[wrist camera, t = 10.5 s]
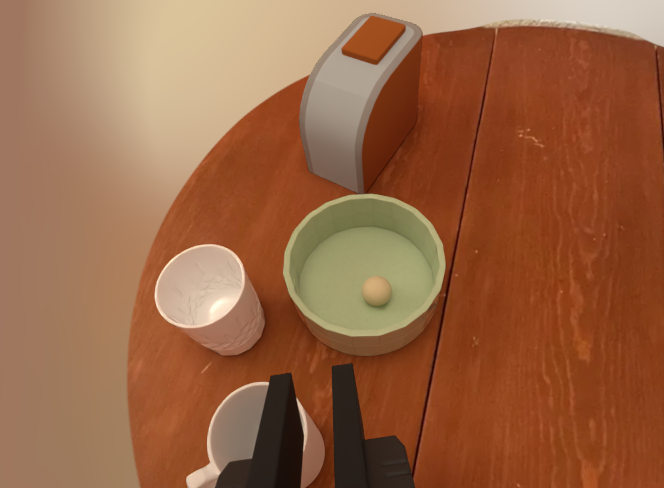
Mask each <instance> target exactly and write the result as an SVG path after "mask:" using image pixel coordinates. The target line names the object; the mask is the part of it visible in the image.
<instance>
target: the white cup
mask: <svg viewBox="0 0 664 488" xmlns="http://www.w3.org/2000/svg"><path fill="white" fill-rule="evenodd" d="M155 302H156V306H157V308H158V310H159V312H160V314H161V315H162V316H163V317H164V318H165V319H166V320H167V321H168V322H170V323H171V324H172V325H174V326H175V327H177V328H178V329H179V330H181V331H182V332H184V333H185V334H186V335H188V336H189V337H191V338H192V339H193V340H195V341H197V342H198V343H200V344H201V345H203V346H205V347H207V348H208V349H210V350H212V351H214V352H216V353H218V354H220V355H222V356H228V355H239V354H241V353H243V352H245V351H247V350H249V349H251V348H252V347H253V345H254V344H255V343H256V342H257V341H258V340H259V339H260V337H261V335H262V332H263V329H264V326H265V318H264V312H263V308H262V306H261V304H260V302H259V299H258V296H257V294H256V292H255V289H254V287H253V285H252V283H251V281H250V279H249V277H248V275H247V273H246V271H245V269H244V266H243V264H242V262H241V261H240V259H239V258H238V256H237V255H236V254H235V253H233V252H232V251H231V250H229V249H227V248H225V247H223V246H219V245H213V244H205V245H199V246H195V247H192V248H189V249H187V250H185V251H183V252H181V253H179V254H178V255H177V256H175V257H174V258H173V259H172V260H171V261H170V262H169V263H168V264H167V265H166V266H165V267H164V269H163V270H162V272H161V274H160V276H159V278H158V280H157V283H156V287H155Z"/></svg>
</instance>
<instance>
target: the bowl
mask: <svg viewBox="0 0 664 488" xmlns="http://www.w3.org/2000/svg"><path fill="white" fill-rule="evenodd" d="M445 269H446V263H445V256H444V249H443V244H442V242H441V240H440V238H439V236H438V234H437V232H436V230H435V229H434V227H433V225H432V223H431V222H429V221H428V220H427V219H426V218H425V217H424V216H423V215H422V214H421V213H420V212H419V211H418V210H417V209H415V208H414V207H412V206H410V205H408V204H406V203H404V202H402V201H400V200H398V199H396V198H392V197H387V196H382V195H377V194H358V195H348V196H345V197H341V198H338V199H335V200H332V201H329V202H326V203H325V204H323V205H322V206H320V207H319V208H317V209H316V210H314V211H313V212H311V213H309V214H308V215H307V216H306V217H305V218H304V220H303V221H302V222H301V223H300V224H299V225H298V227H297V228H296V229H295V230H294V232H293V233H292V236H291V238H290V240H289V243H288V245H287V247H286V250H285V254H284V269H283V275H284V278H285V282H286V285H287V289H288V292H289V295H290V297H291V300H292V302H293V304H294V306H295V308H296V311H297V313H298V315H299V317H300V318H301V320H302V321H303V323H304V324H305V326H306V327H307V329H308V330H309V331H310V332H311V333H312V334H313V335H314V336H315V337H316V338H317V339H318V340H319V341H321V342H322V343H324V344H325V345H327V346H328V347H330V348H332V349H334V350H337V351H340V352H343V353H346V354H350V355H356V356H376V355H381V354H386V353H389V352H392V351H395V350H397V349H399V348H401V347H404V346H405V345H407V344H408V343H410V342H411V341H413V340H414V339H415V338H416V337H417V336H418V335H420V334H421V332H422V331H423V330H424V329H425V328H426V327H427V325H428V323H429V322H430V320H431V319H432V316H433V315H434V313H435V311H436V307H437V303H438V299H439V295H440V291H441V286H442V282H443V278H444V273H445ZM372 276H381V277H384V278H385V279H387V280H388V281H389V283H390V285H391V288H392V295H391V297H390V299H389V301H388V302H387V303H385V304H383V305H381V306H373V305H371V304H369V303H367V302H366V301H365V299H364V298H363V295H362V286H363V284H364V282H365V281H366V280H367V279H368V278H370V277H372Z"/></svg>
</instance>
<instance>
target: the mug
mask: <svg viewBox="0 0 664 488" xmlns="http://www.w3.org/2000/svg"><path fill="white" fill-rule="evenodd" d="M268 386H269V382H256V383H251V384H248V385H245V386H243V387H240V388H239V389H237V390H235V391H234V392H232V393H231V394H230V395H229V396H228V397H227V398H226V399H225V400H224V401H223V402H222V403H221V404H220V406H219V407H218V408H217V410H216V412H215V414H214V416H213V418H212V420H211V423H210V426H209V430H208V436H207V450H208V456H209V460H210V464H209V465H207V466H206V467H204V468H201V469H199V470H197V471H195V472H194V473H192V474H190V475H189V476H188V477H187V479H186V482H187V485H188V488H215V486H216V483H217V479H218V476H219V474H220V473H221V472H222V471H223V469H224V468H225V467H226V465H227V464H228V463H229V462H231V461H238V460H244V459H251V458H252V456H253V452H254V447H255V443H256V438H257V434H258V430H259V425H260V421H261V416H262V412H263V408H264V403H265V399H266V394H267V390H268ZM296 399H297V398H296ZM297 404H298V409H299V413H300V418H301V423H302V428H303V433H304V447H303V462H302V476H301V488H305V487H307V486H308V485H309V484H311V483H312V482H313V481H314V480H315V478H316V477H317V476H318V474H319V472H320V470H321V468H322V465H323V462H324V456H325V447H324V441H323V438H322V436H321V433H320V432H319V430H318V428H317V427H316V425H315V424H314V422H313V421H312V419H311V418H310V417H309V415H308V414H307V412H306V411H305V409H304V408H303V406H302V405H301V403H300V402H299V400H298V399H297Z"/></svg>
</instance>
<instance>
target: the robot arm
mask: <svg viewBox="0 0 664 488" xmlns="http://www.w3.org/2000/svg"><path fill="white" fill-rule="evenodd" d="M332 393H333V432H334V471H335V488H415V485H414V481H413V477H412V474H411V469H410V466H409V462H408V458H407V454H406V450H405V446H404V445H403V444H402V443H401V442H400V441H399V439H398V438H397V437H396V436H395V435H394V436H388V437H381V438H375V439H368V440H365V437H364V429H363V423H362V417H361V411H360V405H359V399H358V394H357V388H356V382H355V376H354V370H353V364H352V363H350V364H343V365H337V366H332ZM303 447H304V433H303V428H302V423H301V418H300V413H299V409H298V404H297V399H296V394H295V389H294V385H293V380H292V375H291V373H286V374H280V375H273V376H271V377H270V381H269V386H268V390H267V394H266V399H265V403H264V408H263V412H262V416H261V421H260V425H259V430H258V434H257V438H256V443H255V447H254V452H253V456H252V458H251V459H244V460H238V461H231V462H229V463H228V464H227V465H226V467H225V468H224V469H223V471H222V472H221V473H220V474H219V476H218V479H217V483H216V486H215V488H301V476H302V462H303Z"/></svg>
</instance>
